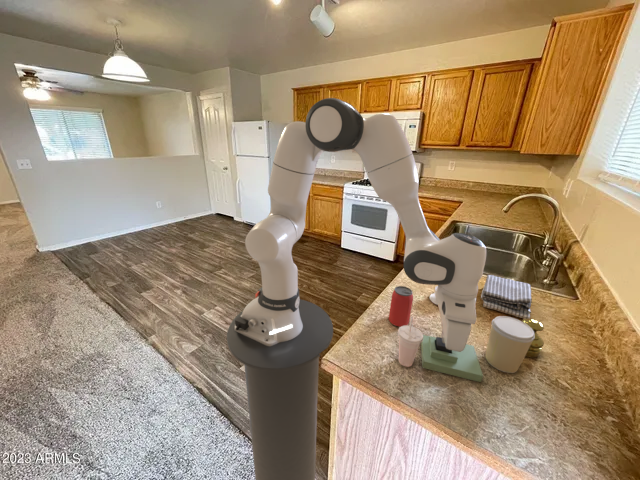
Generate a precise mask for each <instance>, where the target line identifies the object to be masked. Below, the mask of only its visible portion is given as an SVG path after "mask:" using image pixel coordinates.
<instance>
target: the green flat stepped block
mask: <svg viewBox="0 0 640 480" xmlns="http://www.w3.org/2000/svg"><path fill="white" fill-rule="evenodd" d="M436 337H437V336H432V335H427V334H423V341H422V343H420V351H421V366H422V369H426V370H429V371H430V370H431V371H434V372H438V373H442V374H447V375H450V376H455V377H458V378H462V379H466V380H470V381H474V382H478V383H482V382H483V381H482V380H483V378H484V374H483V371H482V367H481V365H480V362H479V358H478V355H477V352H476V349H475V345H472V344H468V343H466V346H465V348H464V350H463V351H461V352H457V351H453V350H452V351H451V353H447V352H443V351H439V350H436V343H435V341H436Z"/></svg>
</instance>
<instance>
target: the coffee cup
mask: <svg viewBox="0 0 640 480" xmlns="http://www.w3.org/2000/svg"><path fill="white" fill-rule="evenodd" d="M534 338H535V334H534V331H533V330H532V328H531V327H530V326H528V325H527V324H525V323H524V322H522V320H519V319H518V318H515V317H511V316H506V315H499V316H496V317H494V318H493V319H492V320H491V326H490V329H489V335H488V340H487V345H486V349H485V354H484V356H485V360H486V361H487V363H488V364H489V365H490V366H491V367H493V368H494V369H496V370H498V371H500V372H503V373H506V374H514V373H517V371H518V370H519V368H520V366H521V365H522V363H523V361H524V359H525V357H526V356H525V355H526V353H527V351H528V349H529V347H530V345H531V343H532V341H533V340H534Z"/></svg>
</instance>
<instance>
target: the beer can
mask: <svg viewBox="0 0 640 480" xmlns="http://www.w3.org/2000/svg"><path fill="white" fill-rule="evenodd" d="M413 302H414V295H413V290H412V289H411V288H410V287H407V286H403V285H398V286H396V287H394V289H393V291H392V293H391V300H390V307H389V314H388V321H389V323H390V324H391V325H393V326H395V327H398V328H400V327H401V326H404V325H410V320H411V313H412V307H413Z"/></svg>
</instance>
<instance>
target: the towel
mask: <svg viewBox="0 0 640 480" xmlns="http://www.w3.org/2000/svg"><path fill="white" fill-rule="evenodd" d="M531 287H532V285H531V284H530V283H527V282H523V281H517V280H513V279H510V278H505V277H500V276H497V275H492V274H486V278H485V282H484V285H483V289H482V290H481V294H480V300H482V301H483V305H482V306H483V307H484V308H487V309H491V310H494V311H497V312H500V313H504V314H508V315H510V316H514V317H516V318H520V319H522V320H523V319H525V318H529V319H531V314H532V311H531V307H532V306H531V305H532V303H533V301H532V288H531Z"/></svg>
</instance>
